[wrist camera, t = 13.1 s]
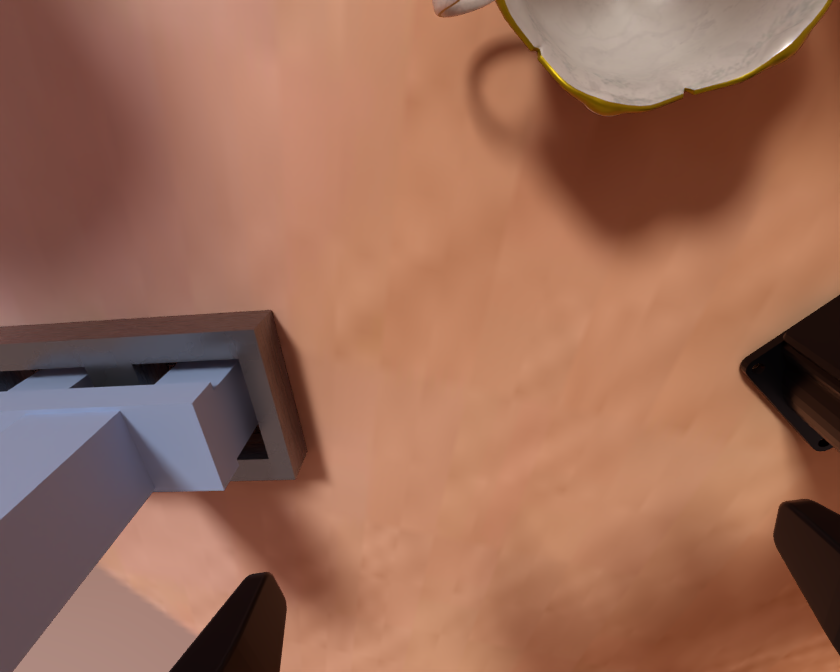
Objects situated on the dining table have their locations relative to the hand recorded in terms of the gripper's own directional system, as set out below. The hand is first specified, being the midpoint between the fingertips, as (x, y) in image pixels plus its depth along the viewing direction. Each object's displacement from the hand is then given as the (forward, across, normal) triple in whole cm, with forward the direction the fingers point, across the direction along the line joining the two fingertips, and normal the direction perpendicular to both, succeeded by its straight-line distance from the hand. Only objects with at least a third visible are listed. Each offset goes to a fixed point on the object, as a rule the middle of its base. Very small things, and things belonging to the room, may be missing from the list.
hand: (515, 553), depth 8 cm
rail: (+14, +16, +3) cm, 21 cm away
